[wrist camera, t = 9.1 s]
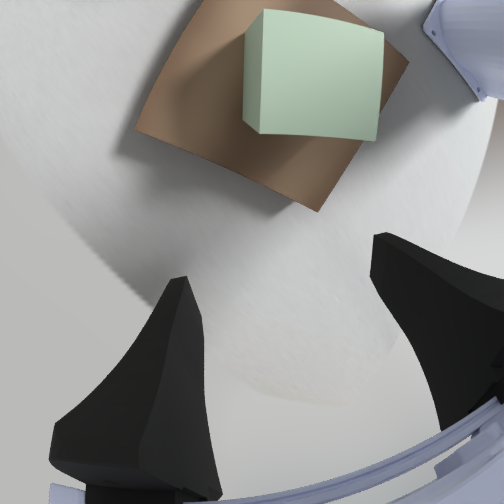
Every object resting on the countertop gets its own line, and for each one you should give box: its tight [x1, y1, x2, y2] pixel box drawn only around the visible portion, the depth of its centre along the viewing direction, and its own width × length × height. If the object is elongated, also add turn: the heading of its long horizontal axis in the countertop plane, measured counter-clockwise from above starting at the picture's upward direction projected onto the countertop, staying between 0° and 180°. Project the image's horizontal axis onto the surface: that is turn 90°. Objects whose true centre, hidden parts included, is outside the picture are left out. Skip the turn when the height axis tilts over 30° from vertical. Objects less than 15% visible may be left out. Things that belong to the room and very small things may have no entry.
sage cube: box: [242, 9, 384, 142], centre depth 11 cm, size 5×5×5 cm
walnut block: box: [134, 0, 409, 212], centre depth 15 cm, size 12×12×4 cm
